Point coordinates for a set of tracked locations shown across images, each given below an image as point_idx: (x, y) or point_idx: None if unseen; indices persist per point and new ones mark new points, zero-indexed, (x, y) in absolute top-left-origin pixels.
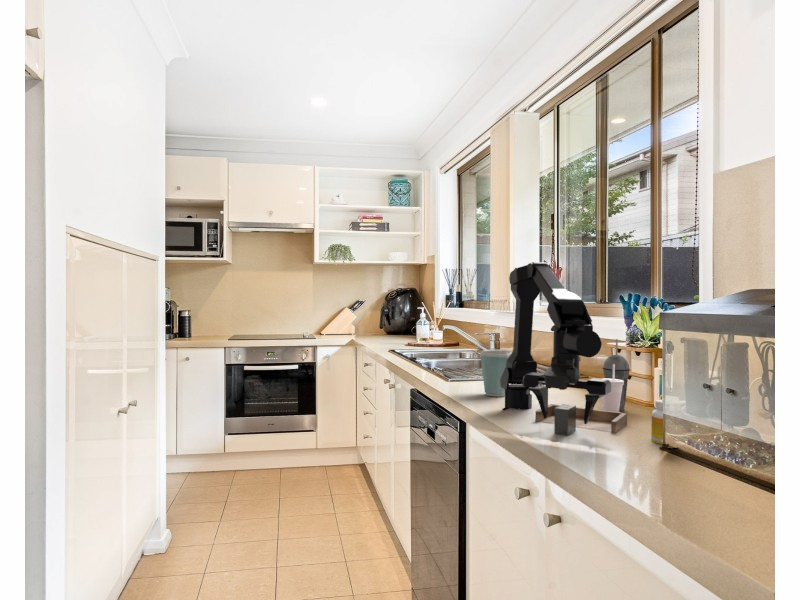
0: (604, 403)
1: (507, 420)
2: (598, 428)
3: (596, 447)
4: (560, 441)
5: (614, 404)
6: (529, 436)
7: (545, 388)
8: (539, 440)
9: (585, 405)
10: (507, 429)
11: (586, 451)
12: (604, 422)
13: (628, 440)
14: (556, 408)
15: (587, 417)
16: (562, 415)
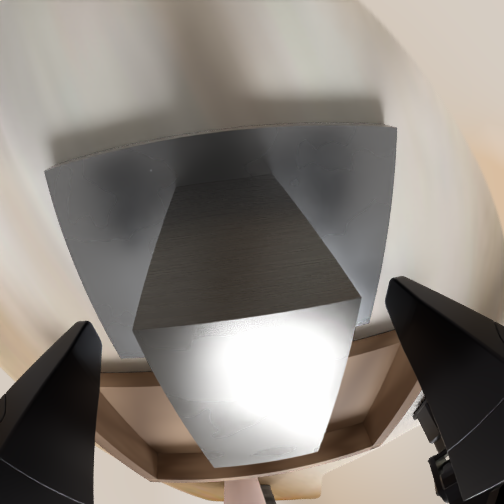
0: (253, 496)
1: (478, 308)
2: (160, 403)
3: (12, 171)
4: (203, 126)
5: (230, 499)
6: (398, 122)
7: (495, 478)
8: (322, 62)
9: (12, 433)
10: (485, 194)
11: (12, 60)
12: (197, 447)
13: (39, 357)
14: (331, 300)
15: (45, 352)
16: (219, 261)
